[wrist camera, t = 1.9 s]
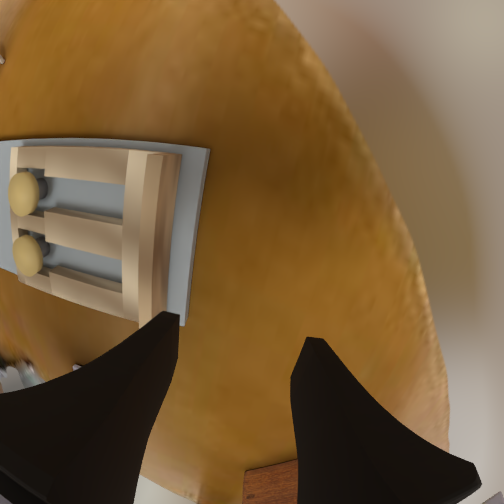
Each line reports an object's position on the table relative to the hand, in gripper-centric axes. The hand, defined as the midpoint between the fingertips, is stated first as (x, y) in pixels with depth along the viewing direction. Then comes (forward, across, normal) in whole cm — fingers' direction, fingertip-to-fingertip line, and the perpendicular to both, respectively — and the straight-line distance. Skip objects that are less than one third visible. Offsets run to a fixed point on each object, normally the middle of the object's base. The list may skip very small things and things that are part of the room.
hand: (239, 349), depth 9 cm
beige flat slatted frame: (+8, +12, 0) cm, 14 cm away
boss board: (+9, +15, 0) cm, 18 cm away
